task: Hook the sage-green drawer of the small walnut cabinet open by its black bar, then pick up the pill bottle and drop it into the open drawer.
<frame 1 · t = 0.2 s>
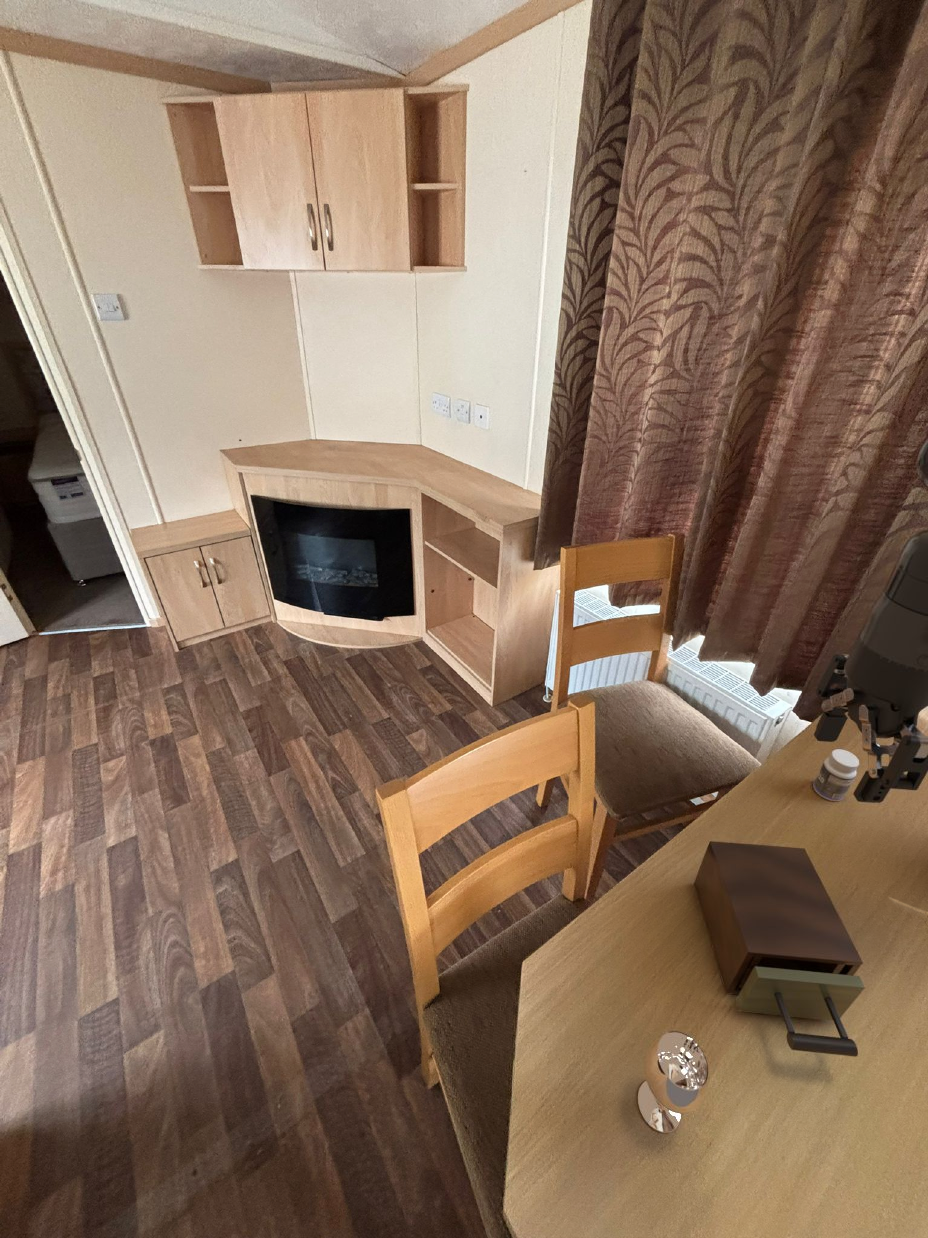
hand: (843, 767, 57), 31 cm above the table, tool pointing down, fingers open, 8 cm apart
cabinet: (755, 938, 71), on the table
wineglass: (658, 1106, 57), on the table
pill bottle: (827, 792, 93), on the table
drawer: (784, 962, 64), point 5 cm above the table, slide at 1.0 cm
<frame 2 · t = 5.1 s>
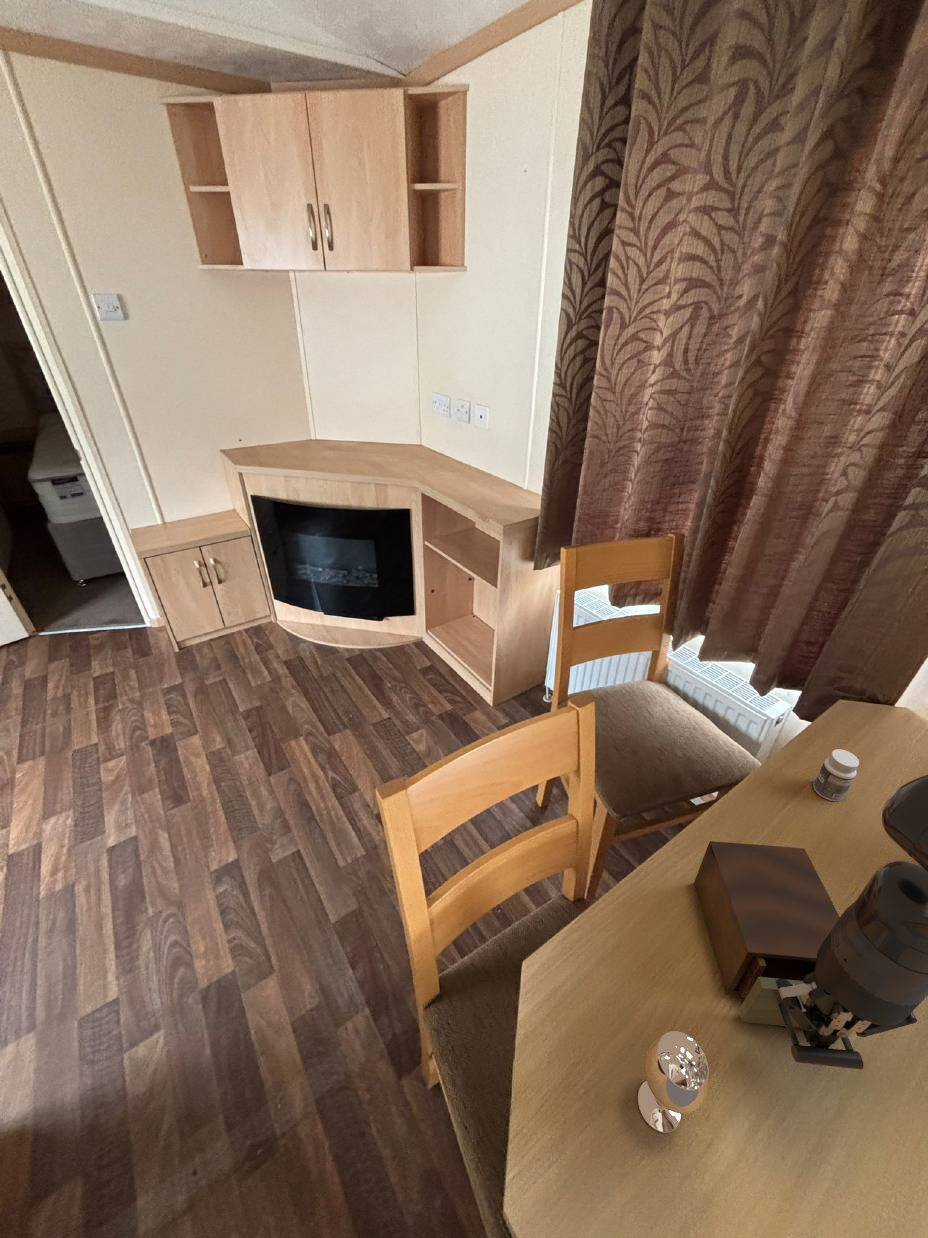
hand: (814, 1038, 57), 5 cm above the table, tool pointing down, fingers closed
drawer: (788, 972, 63), point 5 cm above the table, slide at 2.1 cm, touching gripper
everything else where it was.
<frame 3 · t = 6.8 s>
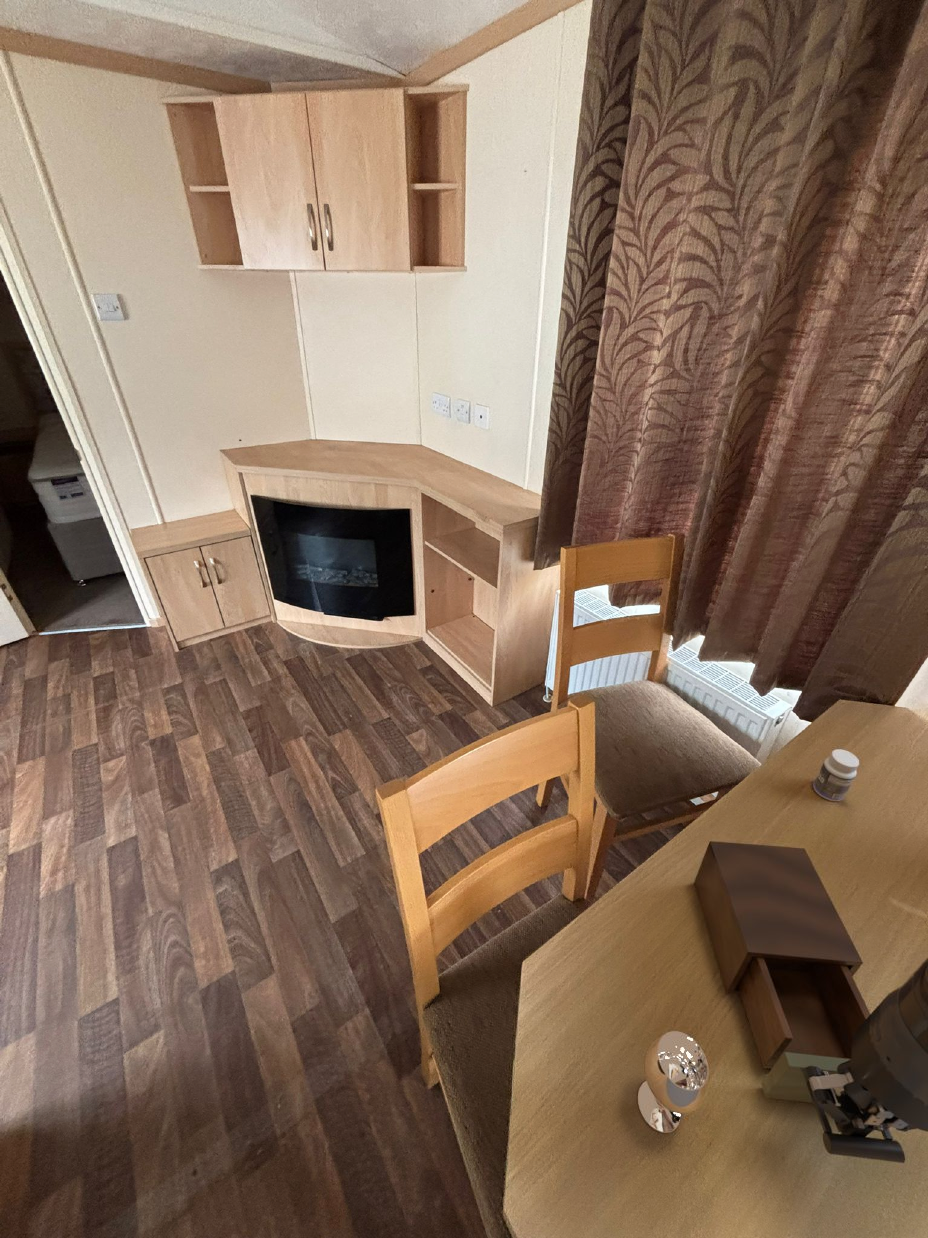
hand: (846, 1126, 52), 5 cm above the table, tool pointing down, fingers closed
drawer: (815, 1041, 57), point 5 cm above the table, slide at 9.0 cm, touching gripper
everything else where it was.
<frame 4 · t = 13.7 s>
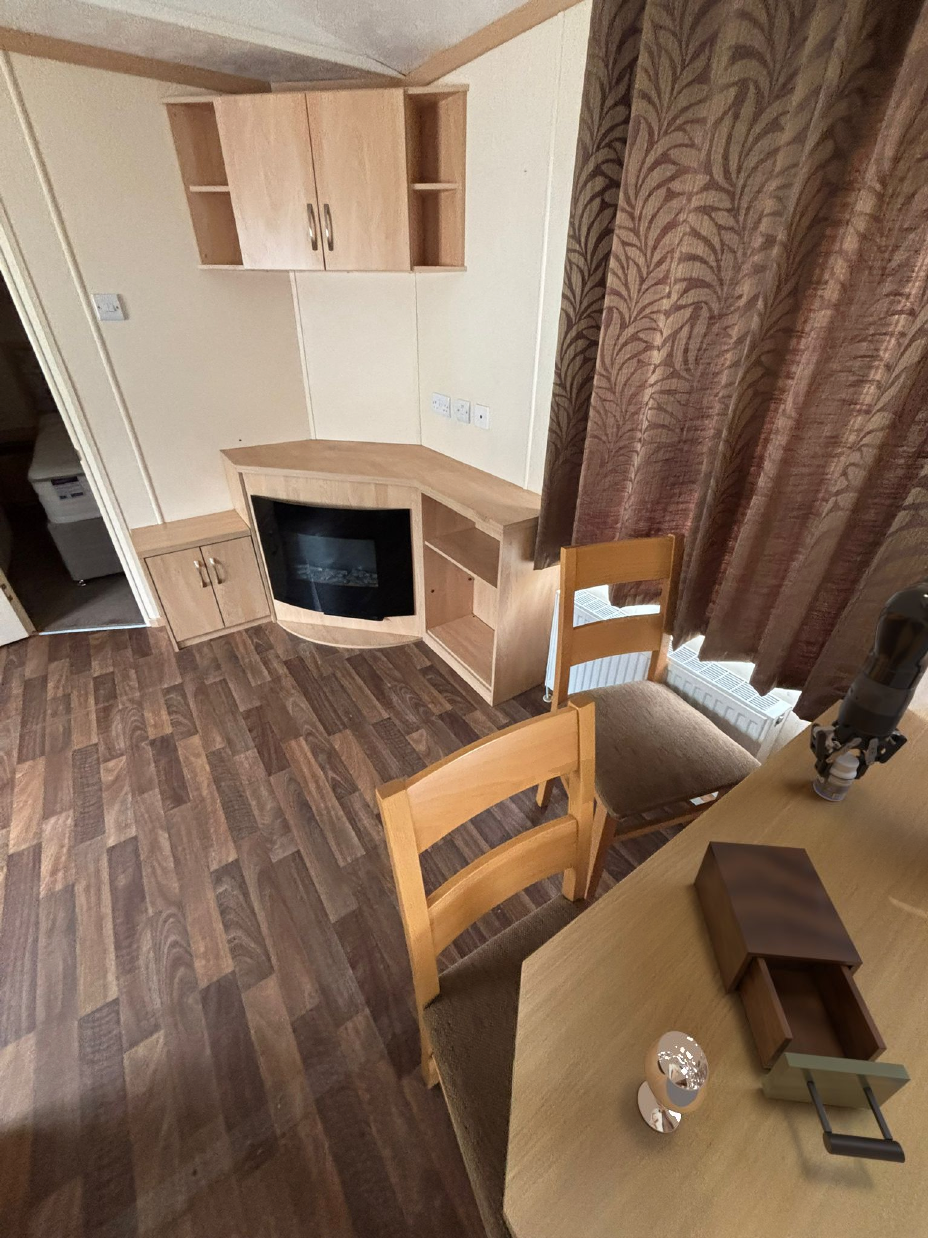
hand: (837, 774, 90), 4 cm above the table, tool pointing down, fingers closed on pill bottle, 4 cm apart
pill bottle: (827, 792, 93), on the table, touching gripper
drawer: (815, 1041, 57), point 5 cm above the table, slide at 9.0 cm
everything else where it was.
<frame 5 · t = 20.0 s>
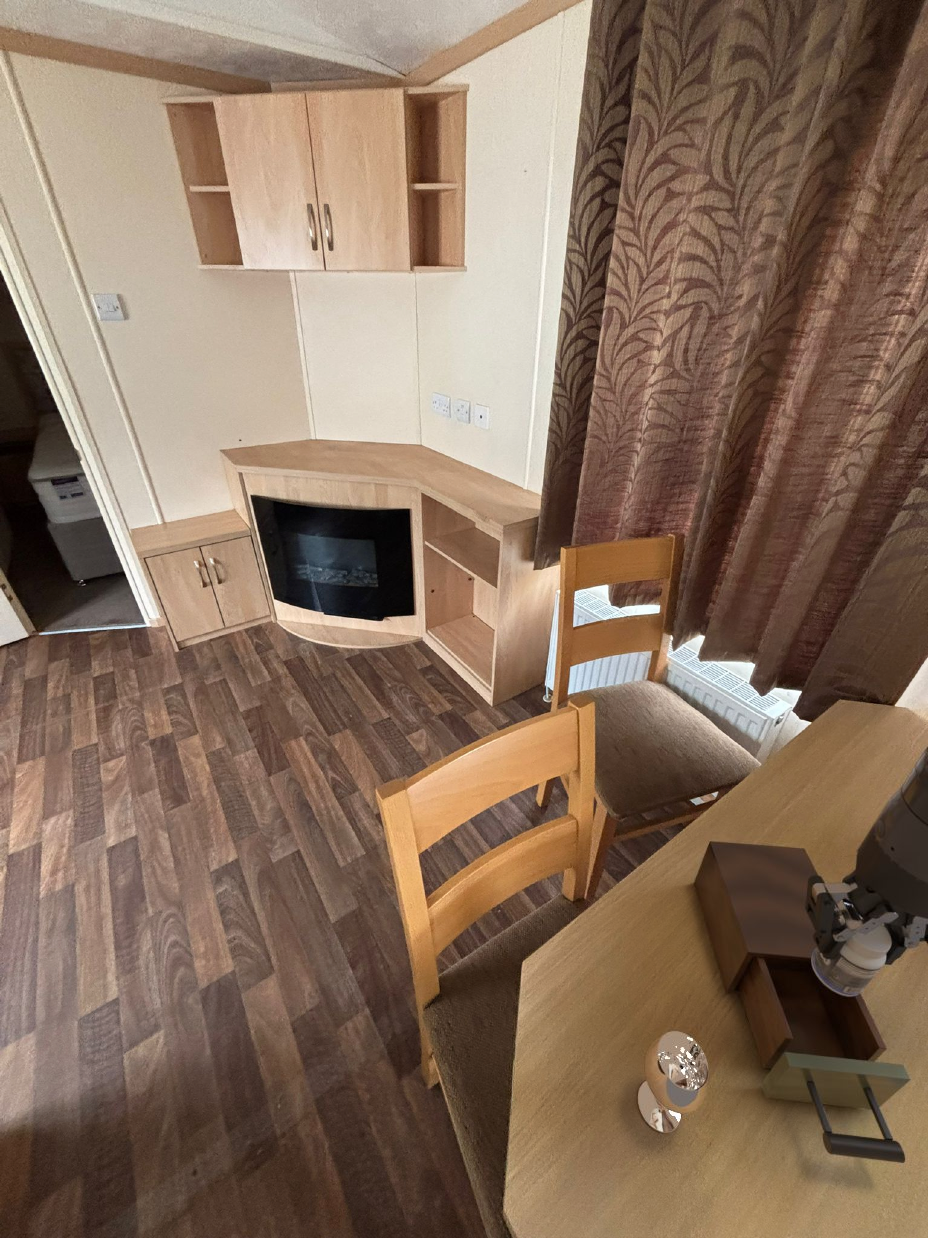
hand: (852, 951, 53), 18 cm above the table, tool pointing down, fingers closed on pill bottle, 4 cm apart
pill bottle: (835, 973, 55), point 14 cm above the table, touching gripper
everything else where it was.
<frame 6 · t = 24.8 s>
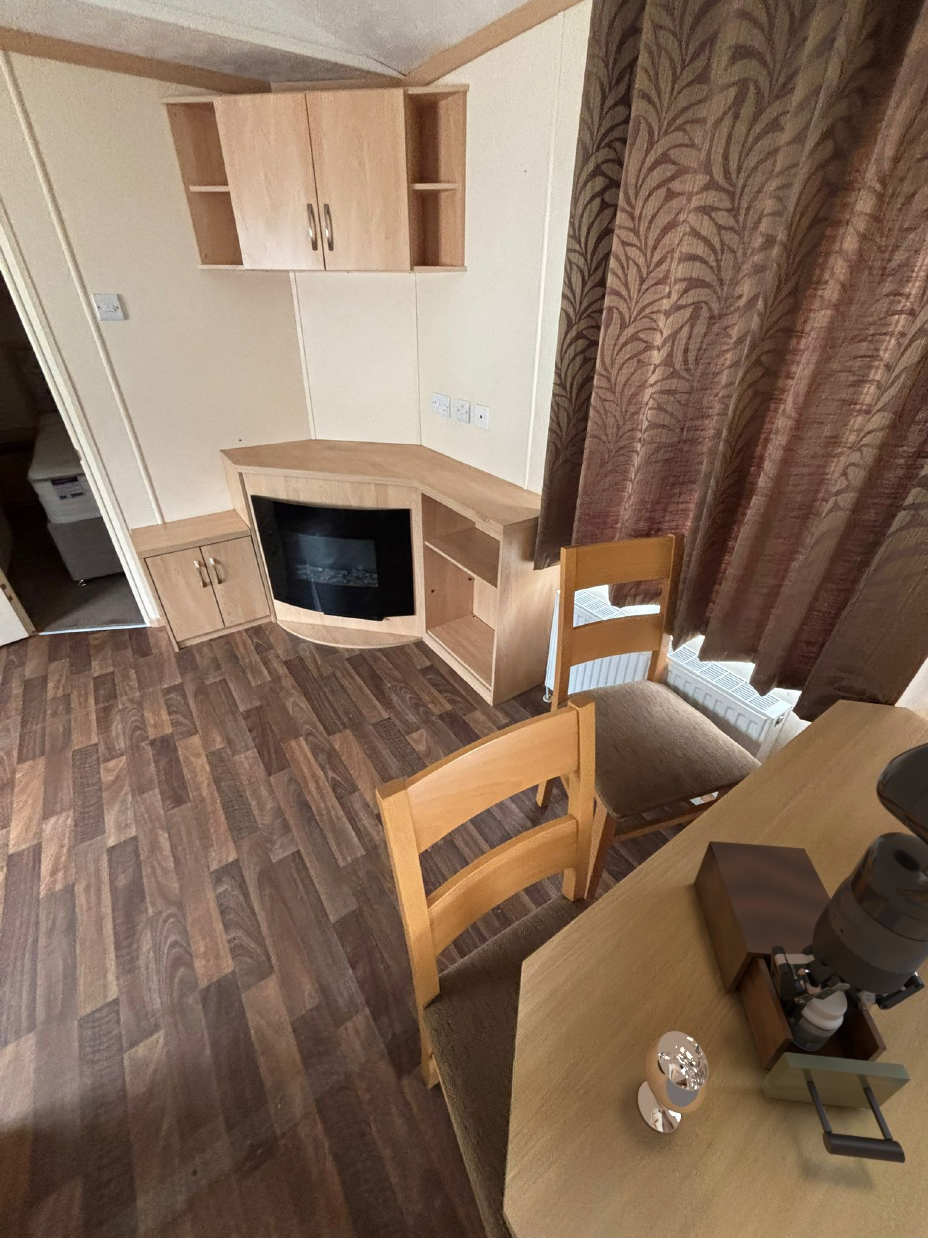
hand: (813, 1010, 58), 7 cm above the table, tool pointing down, fingers closed on pill bottle, 4 cm apart
pill bottle: (799, 1028, 61), point 3 cm above the table, touching gripper
drawer: (815, 1041, 57), point 5 cm above the table, slide at 9.0 cm, touching gripper
everything else where it was.
when the fingers open (8 cm above the table, at t = 27.1 s): pill bottle stays where it is, resting on drawer.
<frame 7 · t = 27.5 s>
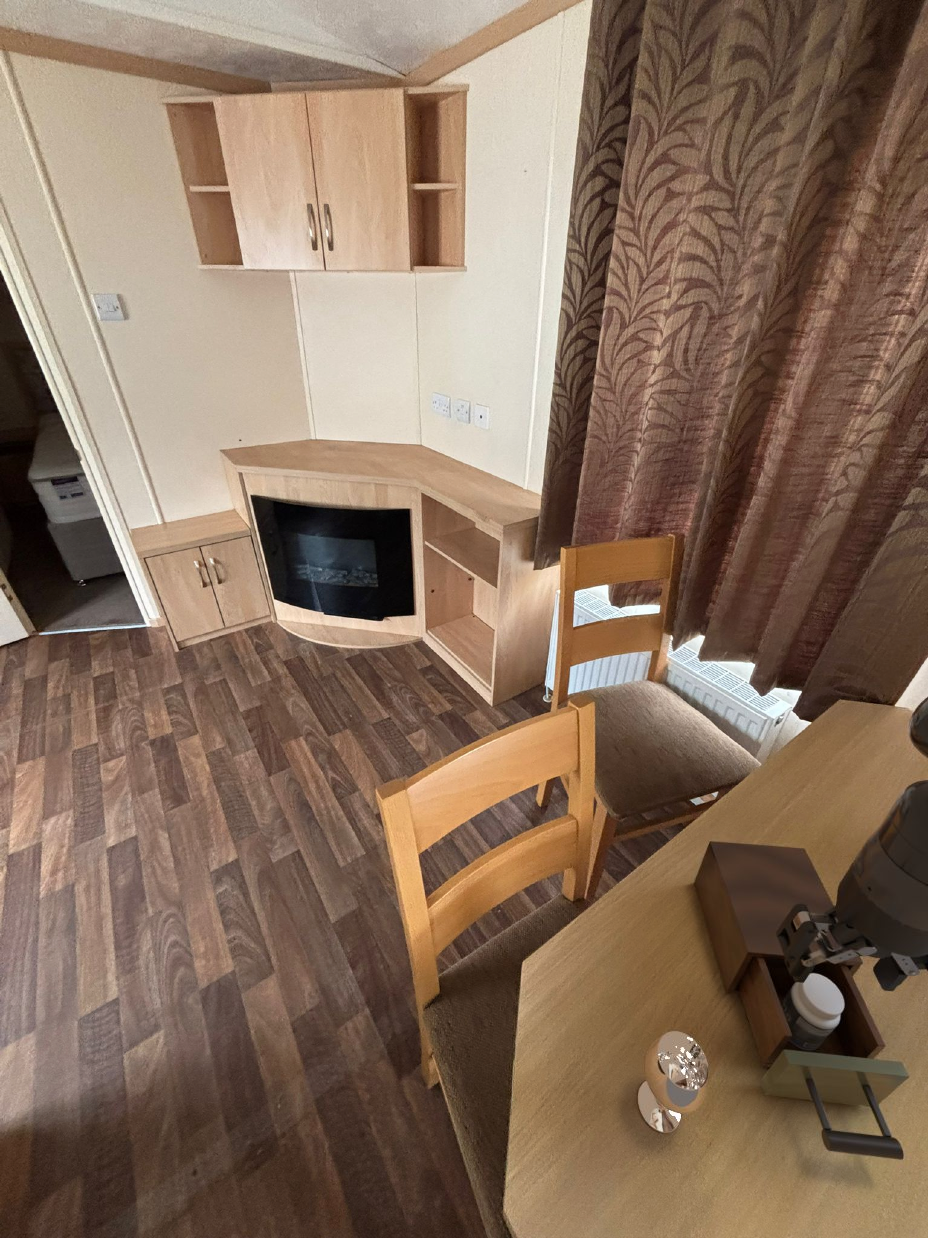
hand: (837, 976, 54), 15 cm above the table, tool pointing down, fingers open, 8 cm apart
pill bottle: (797, 1028, 61), point 2 cm above the table, touching drawer
drawer: (814, 1039, 58), point 5 cm above the table, slide at 8.8 cm, touching pill bottle
everything else where it was.
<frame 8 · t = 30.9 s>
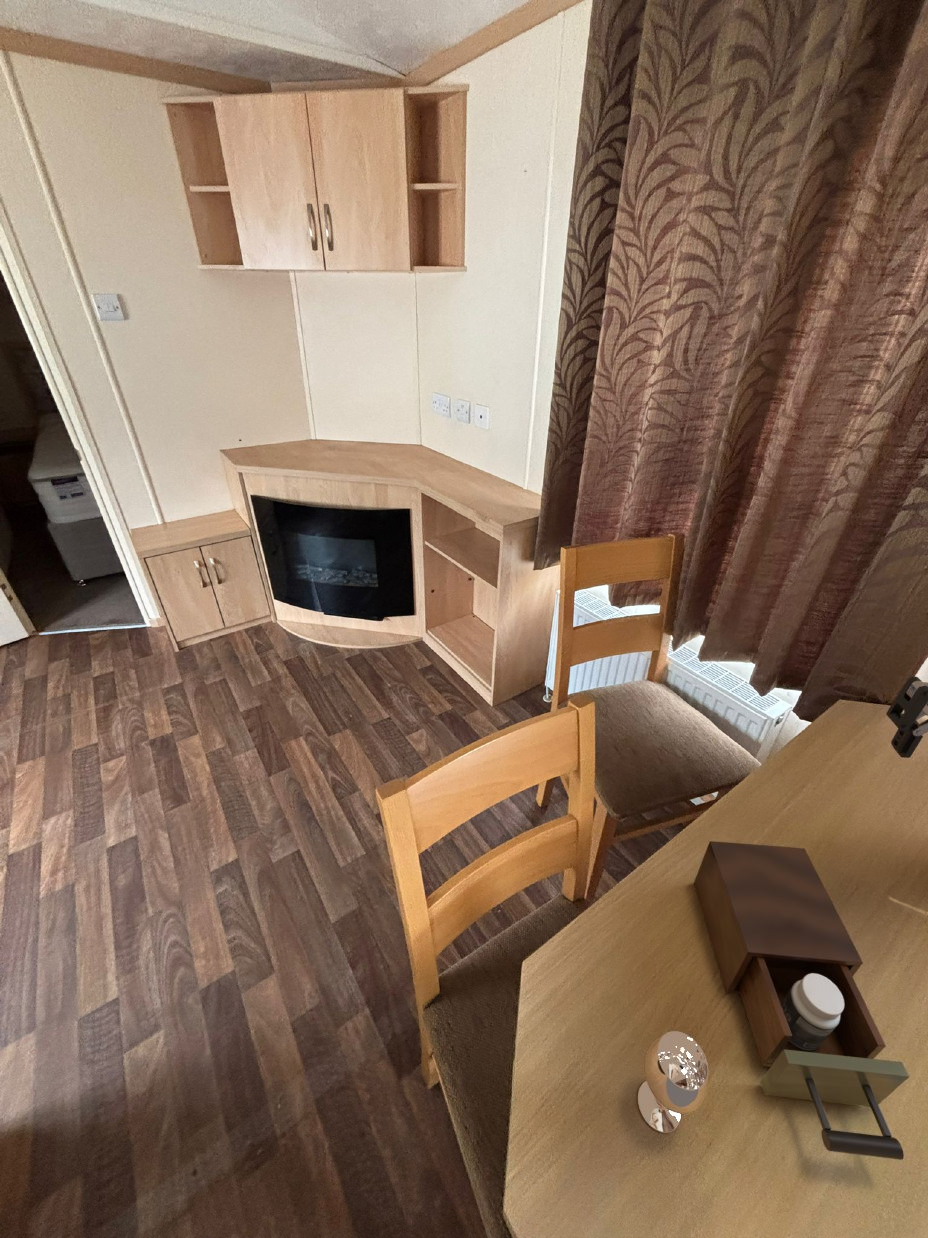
nothing on the table moved.
at the end: drawer slide at 8.8 cm; pill bottle inside the target area in the cabinet (7.5 cm from its centre), point 1.8 cm above the cabinet's base; the gripper is holding nothing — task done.
